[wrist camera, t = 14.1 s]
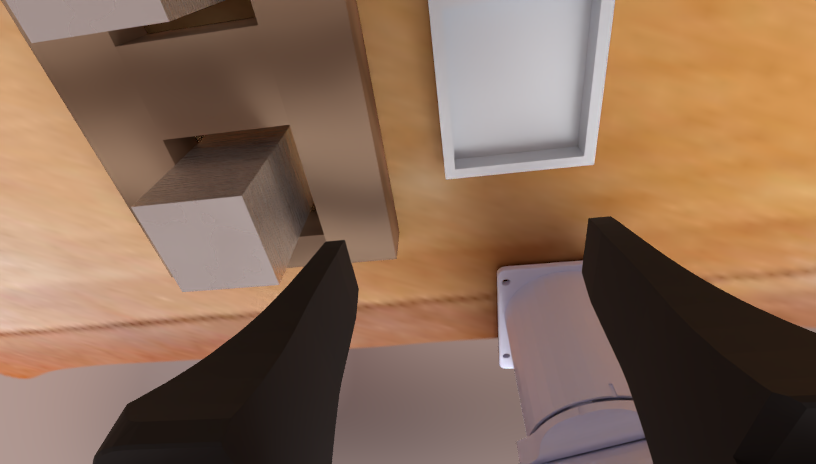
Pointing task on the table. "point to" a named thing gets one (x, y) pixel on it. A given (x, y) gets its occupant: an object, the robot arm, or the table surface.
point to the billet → (96, 15)
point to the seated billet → (229, 210)
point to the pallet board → (239, 108)
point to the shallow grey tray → (519, 82)
